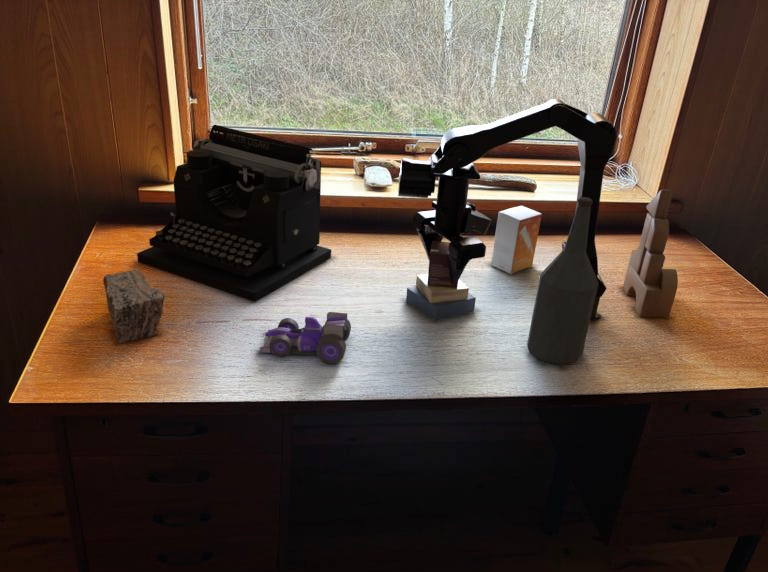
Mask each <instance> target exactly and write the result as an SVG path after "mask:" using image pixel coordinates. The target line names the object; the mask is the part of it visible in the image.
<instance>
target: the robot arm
mask: <svg viewBox="0 0 768 572" xmlns="http://www.w3.org/2000/svg"><path fill="white" fill-rule="evenodd" d="M554 127H556V128H558V129H561V130H563V131H564V132H566V133H568V134H569V135H571V136H573V137H574V138H575V139H577V149H578V150H577V151H578V155H579V161H580V169H579V176H578V184H577V185H578V186H577V195H576V203H575V212H574V214H575V213H576V210H577V206H578V199H579V198H581V197H586V198H590V199H592V201H593V203H592V205H591V209H590V219H589V229H588V238H587V248H586V253H587V256H588V258H589V261H590V263H591V266H592V268H593V271H594V273H595V276H596V278H597V281H598V283H599V284H598V289H597V293H596V297H595V301H594V306H593V310H592V314H591V319H590V321H594V320H599V319H602V315H601V314H600V313H599V312H598V308H599V305H600V299H601V298H602V297H603V295H604V294H605V292H606V291H607V286H606V284H605V283H604V281H603V279H602V277H601V275H600V274H599V263H598V262H599V261H598V260H599V259H598V253H597V246H596V233H597V227H598V219H599V218H598V217H599V210H600V203H601V196H602V195H601V194H602V188H603V180H604V173H605V168H606V166H607V165H608V163H609V161H610V159H611V157H612V156H613V155H612V154H613V152H614V148H615V145H616V142H617V137H618V136H617V135H618V133H617V130H616V128H615V126H614V125H613V124H612V123H611V122H610V121H609V120H608V119H607V118H606V117H605V115H604V114H601V113H598V112H591V113H587V112H585V111H583V110H582V109H580V108H577V107H574V106H572V105H569V104H567V103H566V102H564V101H563V100H562V99H559V98H552V99H549V100H548V101H546V102H545V103H542V104H539V105H536V106H533V107H530V108H528V109H525V110H523V111H520V112H516V113H515V114H512V115H509V116H506V117H503V118H500V119H497V120H495V121H492V122H489V123H485V124H476V125H475V124H474V125H472V124H471V125H465V126H459V127H454V128H451V129H449V130H447V131H445V133H444V134H443V136H442V138H441V141H440V142H441V143H440V145H439V147H438V148H437V149H436V150H435V151H434V152H433V153H432V154H431V155H430V157H429V160H428V161H427V160H415V159H410V158H401V160H400V161H401V163H400V172H398V187H397V188H398V189H397V193H398V194H397V196H398V197H402V198H403V197H405V198H419V199H428V198H429V197H431V196H432V194H435V190H436V189H435V188H436V181H437V179H436V178H438V182H437V192H436V193H437V195H436V200H434V201H433V200H432V201H431V208H433V209H434V210H432V209H431V210H426V211H417V212H416V213H415V214H414V215H413V217H412V227H414V228H415V229H416V233H417V234H418V236H419V239H420V241H421V244H422V246H423V248H424V252H425V255H426V257H427V259H428V260H429V258H430V251H431V246H432V241H440V242H443V240H444V239H446V240H447V241H448V242H450V243H449V247H448V250H449V253H446V256H447V262H448V267H449V273H450V278H451V282H452V283H453V284H454V283H457V282H458V280H459V279H461V276H462V274H463V272H464V271H465V269H466V267H467V265H468V263H469V262H470V261H472V260H476V259H481V258H485V257H486V251H487V246H486V244H485V243H484V242H483V241H481V240H480V239H478V238H477V237H475V236H474V235H470V236H462V235H463V234H465V235H468V234H471V231H473V232H476V233H478V234H479V233H480V234H481V235H483V236H485V235H487V231H488V230H489V227H490V225H491V223H492V219H491V218H489V217H488V216H486V215H485V214H483V213H481V212H479V211H478V210H476V209H477V208H476V205H474V204H473V203H471V202H468V195H469V188H470V187H469V186H470V180H481V174H480V171H479V170H478V169H477V168H476V166H475V164H474V162H476V161H478V160H479V159H481V158H482V157H484V156H485V155H487V154H488V153H489V152H490V151H492V150H493V149H496V148H498V147H501V146H503V145H507V144H509V143H512V142H514V141H519V140H521V139H523V138H526V137H529V136H532V135H535V134H538V133H541V132H543V131H546V130H548V129H551V128H554ZM565 245H566V241H561V252H562V251H563V250H564V248H565Z"/></svg>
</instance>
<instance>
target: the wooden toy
mask: <svg viewBox="0 0 768 572" xmlns="http://www.w3.org/2000/svg"><path fill="white" fill-rule="evenodd" d="M673 195H674V190H672V189H661V190H659V191H658V192H657V194H656V195H655V196H654V197H653V198H652V199H651V200H650V201H649V202H648V204H647V205H646V206H645V209H646V210H647V211H648V212H647V213H646V217H645V220H644V224H643V228H642V232H641V236H640V240H639V244H638V246H637V248H636V249H632V250H631V252H630V257H629V261H628V264H627V267H626V273H625V277H624V280H623V284H622V289H623V291H624V293H625V294H626V295H627V296H635V307H634V309H635V311H636V313H637V315H638V316H639V317H640V318H666V319H667V318H668V319H669V318H670V315H671V311H672V308H673V304H674V301H675V298H676V295H677V291H678V284H679V277H678V271H677V269H675V268H674V269H673V268H663V267H664V265H665V260H666V255H665V254H664V252H665V250H666V245H667V242H668V238H669V235H670V222H669V219H668V218H667V217H668V213H669V211H670V206H671V203H672V199H673Z"/></svg>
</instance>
